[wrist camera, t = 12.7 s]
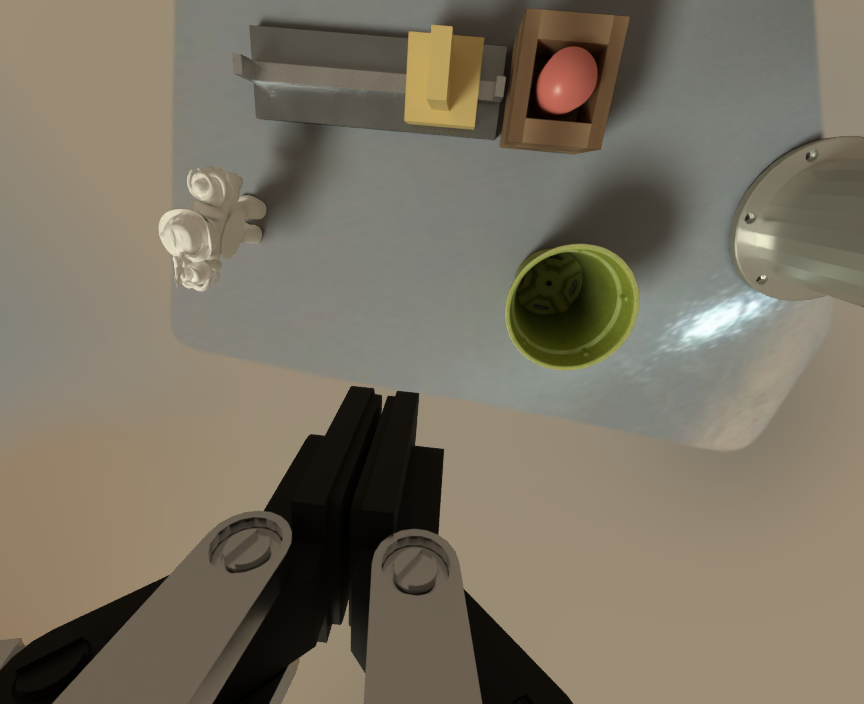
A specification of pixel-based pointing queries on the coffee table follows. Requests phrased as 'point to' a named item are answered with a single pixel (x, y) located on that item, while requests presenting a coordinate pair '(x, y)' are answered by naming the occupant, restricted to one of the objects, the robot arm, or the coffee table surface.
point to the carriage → (442, 78)
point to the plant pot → (571, 306)
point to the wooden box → (530, 55)
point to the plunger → (564, 83)
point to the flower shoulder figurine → (209, 226)
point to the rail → (351, 81)
